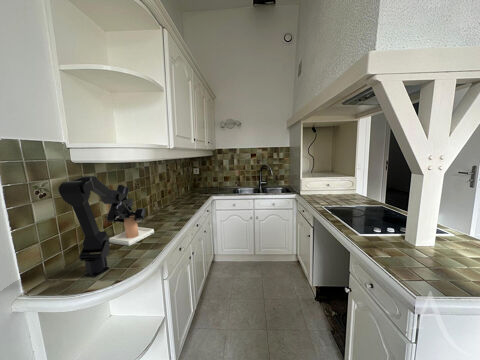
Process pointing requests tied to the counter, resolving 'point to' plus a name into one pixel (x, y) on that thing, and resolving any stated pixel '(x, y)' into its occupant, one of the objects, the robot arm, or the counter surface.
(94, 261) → the robot arm
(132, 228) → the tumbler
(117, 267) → the counter surface
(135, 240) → the tray
